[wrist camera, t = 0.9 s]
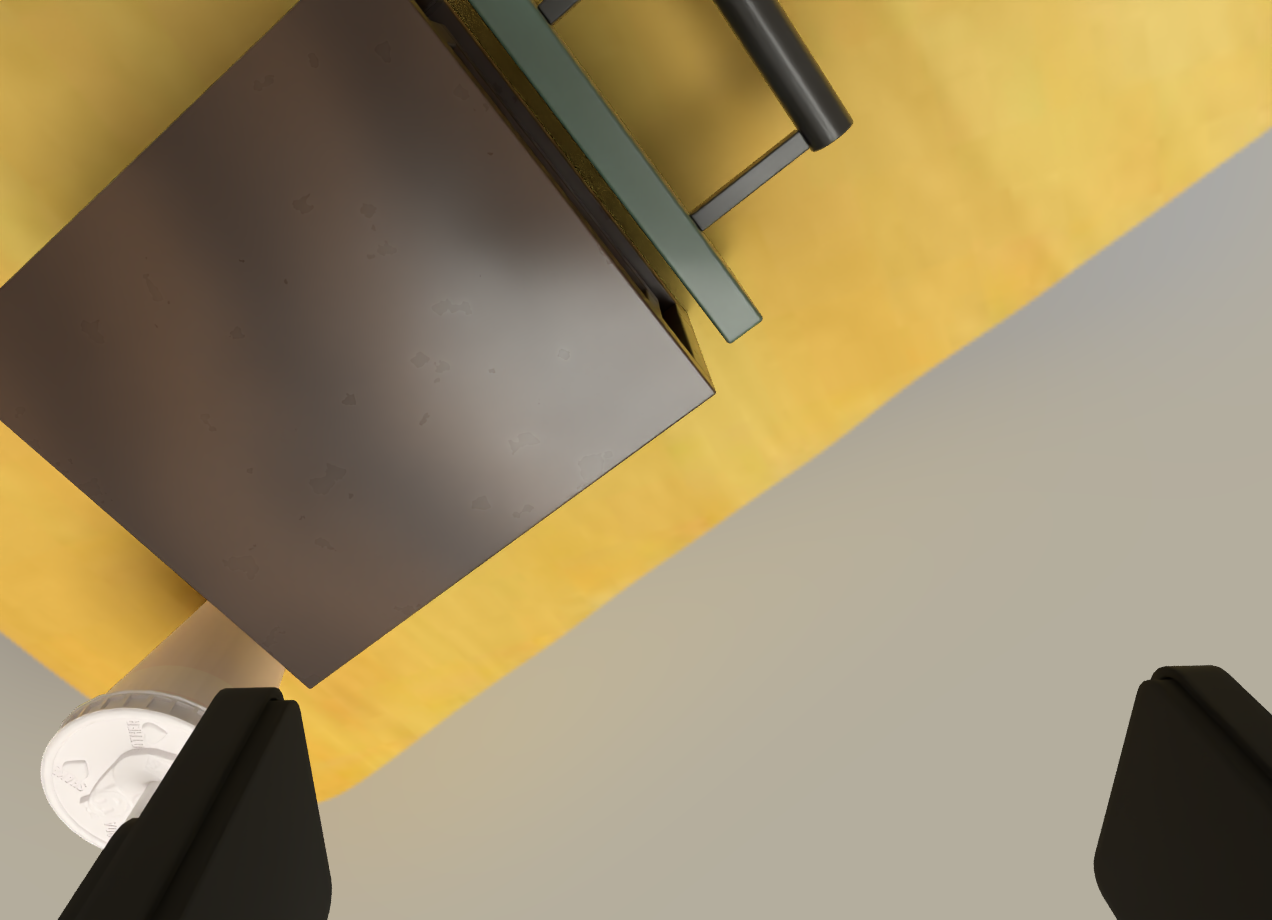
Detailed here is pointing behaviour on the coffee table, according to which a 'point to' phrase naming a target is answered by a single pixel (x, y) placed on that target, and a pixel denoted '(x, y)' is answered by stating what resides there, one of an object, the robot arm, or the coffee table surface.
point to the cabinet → (340, 333)
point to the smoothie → (146, 723)
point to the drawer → (627, 166)
